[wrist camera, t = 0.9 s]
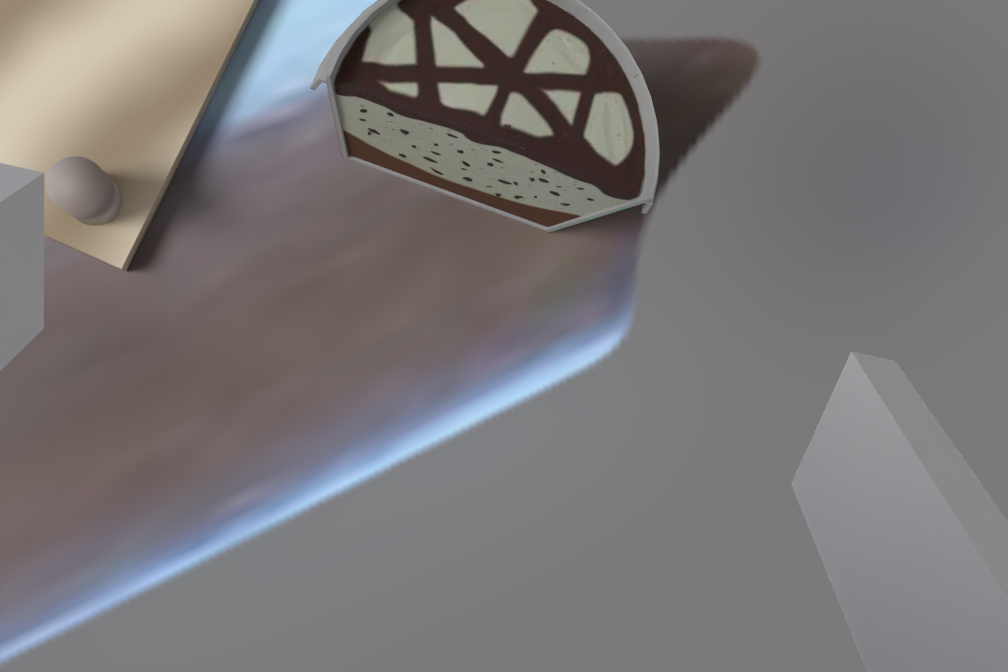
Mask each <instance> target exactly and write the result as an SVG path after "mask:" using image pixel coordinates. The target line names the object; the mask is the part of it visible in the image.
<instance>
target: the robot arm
mask: <svg viewBox="0 0 1008 672" xmlns="http://www.w3.org/2000/svg"><path fill="white" fill-rule="evenodd" d="M43 328H44V172H39V171H35V170H30V169H26V168H21V167H17V166H12V165H8V164H3V163H0V371H1V370H2V369H3V368H4V367H5V366H6V365H7V364H8V363H9V362H10V361H11V360H12V359H13V358H14V357H15V356H16V355H17V354H18V353H19V352H20V351H21V350H22V349H23V348H24V347H25V346H26V345H27V344H28V343H29V342H30V341H31V340H32V339H33V338H34V337H35V336H36V335H37V334H38V333H39V332H40V331H41V330H42V329H43ZM791 485H792V488H793V490H794V492H795V495H796V497H797V500H798V502H799V505H800V507H801V510H802V512H803V514H804V517H805V520H806V522H807V524H808V527H809V530H810V532H811V534H812V537H813V539H814V542H815V544H816V547H817V549H818V552H819V554H820V557H821V559H822V562H823V564H824V566H825V569H826V571H827V574H828V576H829V579H830V581H831V584H832V586H833V589H834V591H835V594H836V596H837V599H838V601H839V604H840V606H841V609H842V611H843V613H844V616H845V618H846V621H847V623H848V626H849V628H850V631H851V633H852V635H853V638H854V640H855V643H856V646H857V648H858V651H859V653H860V656H861V658H862V660H863V663H864V665H865V668H866V670H867V672H1008V521H1007V519H1006V518H1005V516H1004V515H1003V514H1002V512H1001V511H1000V509H999V508H998V506H997V505H996V504H995V502H994V501H993V499H992V498H991V497H990V495H989V494H988V492H987V491H986V489H985V488H984V486H983V485H982V484H981V482H980V481H979V479H978V478H977V477H976V475H975V474H974V472H973V471H972V469H971V468H970V467H969V465H968V464H967V462H966V461H965V459H964V458H963V457H962V455H961V454H960V452H959V451H958V450H957V448H956V447H955V445H954V444H953V442H952V441H951V440H950V438H949V437H948V435H947V434H946V433H945V431H944V430H943V428H942V427H941V425H940V424H939V423H938V421H937V420H936V418H935V417H934V415H933V414H932V413H931V411H930V410H929V408H928V407H927V405H926V404H925V403H924V401H923V400H922V398H921V397H920V396H919V394H918V393H917V391H916V390H915V388H914V387H913V386H912V384H911V383H910V381H909V380H908V378H907V377H906V376H905V374H904V373H903V371H902V370H901V369H900V367H899V366H898V364H897V363H896V362H895V361H893V360H888V359H883V358H879V357H875V356H870V355H866V354H861V353H857V352H851V354H850V356H849V358H848V360H847V362H846V364H845V367H844V369H843V371H842V373H841V375H840V377H839V380H838V382H837V384H836V386H835V389H834V391H833V393H832V395H831V397H830V399H829V402H828V404H827V406H826V408H825V410H824V413H823V415H822V417H821V420H820V421H819V424H818V426H817V428H816V430H815V432H814V435H813V437H812V439H811V441H810V443H809V446H808V448H807V450H806V452H805V454H804V457H803V459H802V461H801V463H800V466H799V468H798V470H797V472H796V474H795V477H794V479H793V481H792V483H791Z"/></svg>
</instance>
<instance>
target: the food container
mask: <svg viewBox="0 0 1008 672" xmlns="http://www.w3.org/2000/svg"><path fill="white" fill-rule="evenodd" d="M322 82H324V83H326V84H327V88H328V93H329V97H330V102H331V106H332V111H333V116H334V120H335V125H336V129H337V134H338V138H339V143H340V148H341V152H342V157H343V158H346V159H348V160H351V161H354V162H357V163H359V164H362V165H365V166H368V167H370V168H373V169H376V170H379V171H381V172H384V173H387V174H390V175H392V176H395V177H398V178H401V179H403V180H406V181H409V182H412V183H414V184H417V185H420V186H423V187H425V188H428V189H431V190H434V191H436V192H439V193H442V194H445V195H447V196H450V197H453V198H456V199H458V200H461V201H464V202H467V203H469V204H472V205H475V206H478V207H480V208H483V209H486V210H489V211H491V212H494V213H497V214H500V215H502V216H505V217H508V218H511V219H513V220H516V221H519V222H522V223H524V224H527V225H530V226H533V227H535V228H538V229H541V230H544V231H546V232H549V233H550V232H553V231H556V230H559V229H562V228H566V227H569V226H572V225H575V224H579V223H582V222H585V221H588V220H591V219H595V218H598V217H601V216H604V215H608V214H611V213H614V212H617V211H620V210H624V209H627V208H630V207H633V206H637V205H640V204H643V208H642V212H641V213H643V214H646V213H647V212H648V211H649V209H650V208H651V207H652V205H653V202H654V197H655V193H656V188H657V183H658V175H659V160H660V148H659V136H658V125H657V119H656V115H655V111H654V107H653V102H652V98H651V95H650V93H649V90H648V88H647V85H646V83H645V80H644V78H643V75H642V73H641V71H640V69H639V67H638V66H637V64H636V62H635V60H634V59H633V57H632V55H631V53H630V52H629V50H628V48H627V47H626V46H625V45H624V43H623V42H622V41H621V40H620V38H619V37H618V36H617V34H616V33H615V32H614V31H613V29H612V28H611V27H610V26H609V25H608V24H607V23H606V22H605V21H603V20H602V19H601V18H600V17H599V16H598V15H597V14H596V13H595V12H594V11H593V10H592V9H590V8H589V7H588V6H586V5H585V4H583V3H582V2H580V1H579V0H378V1H376V2H375V3H374V4H372V5H371V6H370V7H368V8H367V9H366V10H364V11H363V13H362V14H361V15H360V16H359V17H358V18H357V19H356V20H355V21H354V22H353V23H352V24H351V25H350V26H349V27H348V28H347V29H346V31H345V32H344V33H343V34H342V35H341V36H340V37H339V38H338V39H337V40H336V42H335V43H334V45H333V46H332V48H331V49H330V51H329V52H328V54H327V55H326V57H325V58H324V60H323V62H322V63H321V65H320V67H319V69H318V71H317V74H316V76H315V78H314V80H313V83H312V85H311V87H310V89H312V90H315V89H316V88H317V87H318V86H319V85H320V84H321V83H322Z"/></svg>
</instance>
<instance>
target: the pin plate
mask: <svg viewBox="0 0 1008 672" xmlns="http://www.w3.org/2000/svg"><path fill="white" fill-rule="evenodd" d="M259 1H260V0H0V163H3V164H8V165H12V166H17V167H21V168H26V169H30V170H35V171H39V172H44V236H46V237H49V238H51V239H53V240H56V241H58V242H60V243H62V244H65V245H67V246H69V247H71V248H74V249H76V250H78V251H80V252H83V253H85V254H87V255H90V256H92V257H94V258H96V259H99V260H101V261H103V262H105V263H108V264H110V265H112V266H114V267H117V268H119V269H121V270H124V271H127V269H128V267H129V264H130V262H131V260H132V258H133V256H134V254H135V252H136V250H137V248H138V246H139V244H140V242H141V240H142V238H143V236H144V234H145V232H146V230H147V228H148V226H149V224H150V222H151V220H152V218H153V216H154V214H155V212H156V210H157V208H158V206H159V204H160V202H161V200H162V198H163V196H164V194H165V192H166V190H167V188H168V185H169V183H170V181H171V179H172V177H173V175H174V173H175V171H176V169H177V167H178V165H179V163H180V161H181V159H182V157H183V155H184V153H185V151H186V149H187V147H188V145H189V143H190V141H191V139H192V137H193V135H194V133H195V131H196V129H197V127H198V125H199V123H200V121H201V119H202V117H203V115H204V113H205V111H206V108H207V106H208V104H209V102H210V100H211V98H212V96H213V94H214V92H215V90H216V88H217V86H218V84H219V82H220V80H221V78H222V76H223V74H224V72H225V70H226V68H227V66H228V64H229V62H230V60H231V58H232V56H233V54H234V52H235V50H236V48H237V46H238V44H239V42H240V40H241V38H242V36H243V34H244V32H245V29H246V27H247V25H248V23H249V21H250V19H251V17H252V15H253V13H254V11H255V9H256V7H257V5H258V3H259Z"/></svg>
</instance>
